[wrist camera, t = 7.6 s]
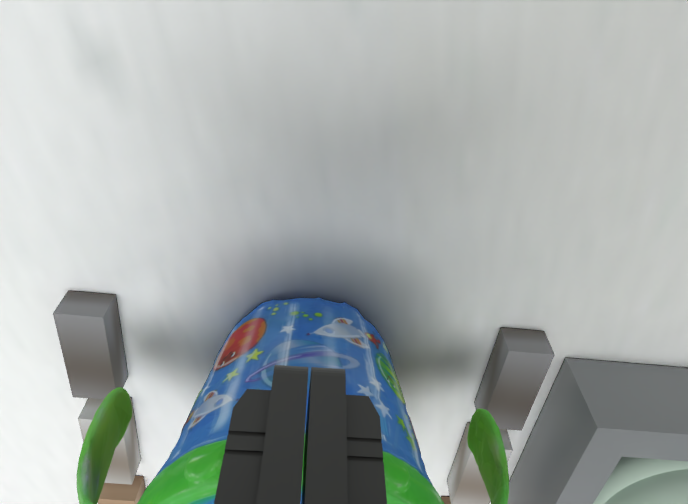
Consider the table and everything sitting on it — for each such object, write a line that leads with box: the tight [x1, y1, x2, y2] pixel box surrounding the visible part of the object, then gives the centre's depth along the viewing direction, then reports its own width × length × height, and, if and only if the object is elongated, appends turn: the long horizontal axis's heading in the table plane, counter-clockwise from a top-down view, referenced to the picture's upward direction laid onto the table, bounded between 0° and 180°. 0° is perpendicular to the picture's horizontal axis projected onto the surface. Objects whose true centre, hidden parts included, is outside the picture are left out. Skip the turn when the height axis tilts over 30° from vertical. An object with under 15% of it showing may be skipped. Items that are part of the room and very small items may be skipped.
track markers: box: [53, 291, 554, 504], centre depth 29 cm, size 18×21×2 cm
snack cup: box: [77, 298, 509, 504], centre depth 22 cm, size 16×10×10 cm
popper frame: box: [508, 358, 688, 504], centre depth 28 cm, size 12×12×4 cm
